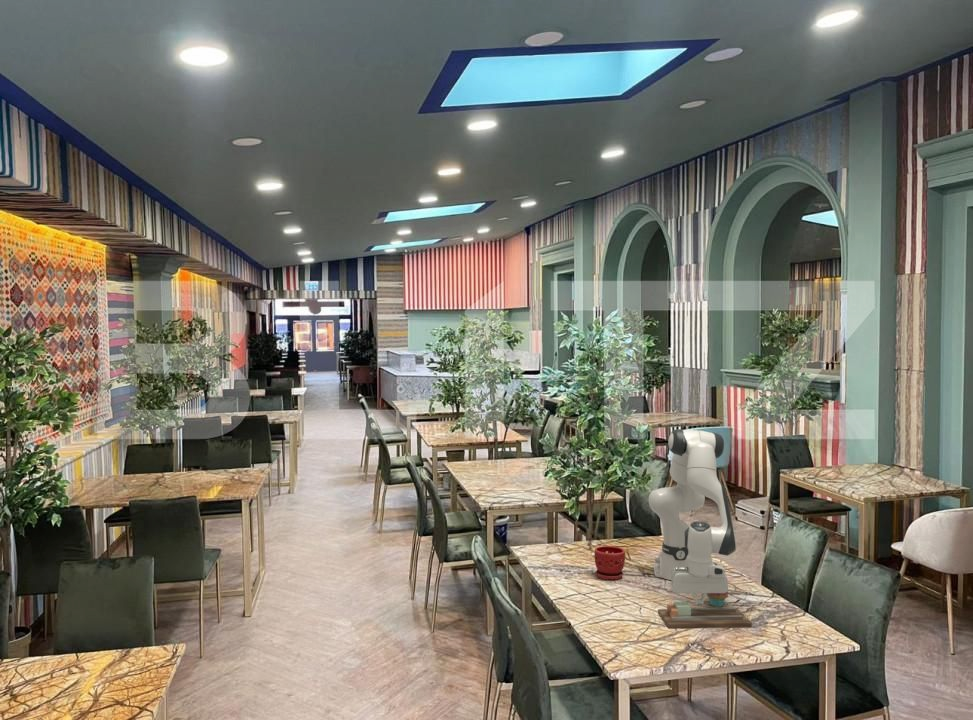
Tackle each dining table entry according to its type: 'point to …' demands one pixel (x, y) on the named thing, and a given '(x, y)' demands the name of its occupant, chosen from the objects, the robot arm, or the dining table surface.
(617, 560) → the plant pot
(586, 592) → the dining table surface
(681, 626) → the guide board
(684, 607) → the block
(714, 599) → the cupcake
